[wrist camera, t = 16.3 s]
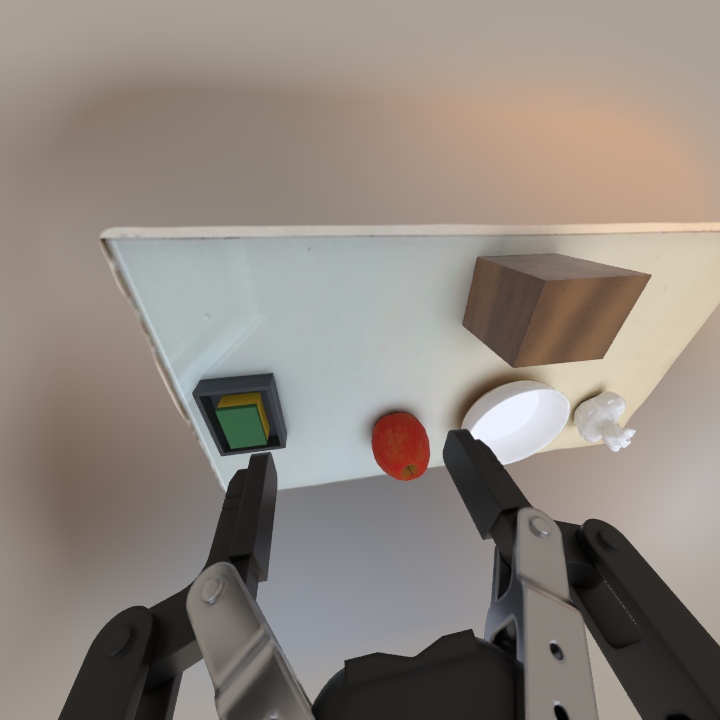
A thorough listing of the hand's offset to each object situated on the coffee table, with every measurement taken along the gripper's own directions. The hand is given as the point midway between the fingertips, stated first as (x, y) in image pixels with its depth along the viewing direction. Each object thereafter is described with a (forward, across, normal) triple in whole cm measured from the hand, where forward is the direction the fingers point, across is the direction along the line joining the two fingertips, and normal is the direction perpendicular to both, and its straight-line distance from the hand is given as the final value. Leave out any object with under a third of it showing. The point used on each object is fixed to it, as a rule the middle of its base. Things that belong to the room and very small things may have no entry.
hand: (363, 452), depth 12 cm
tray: (+26, +14, +20) cm, 36 cm away
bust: (+25, -54, +28) cm, 66 cm away
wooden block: (+26, -26, +2) cm, 37 cm away
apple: (+26, -11, +28) cm, 39 cm away
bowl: (+26, -32, +26) cm, 49 cm away
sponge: (+25, +14, +20) cm, 35 cm away
